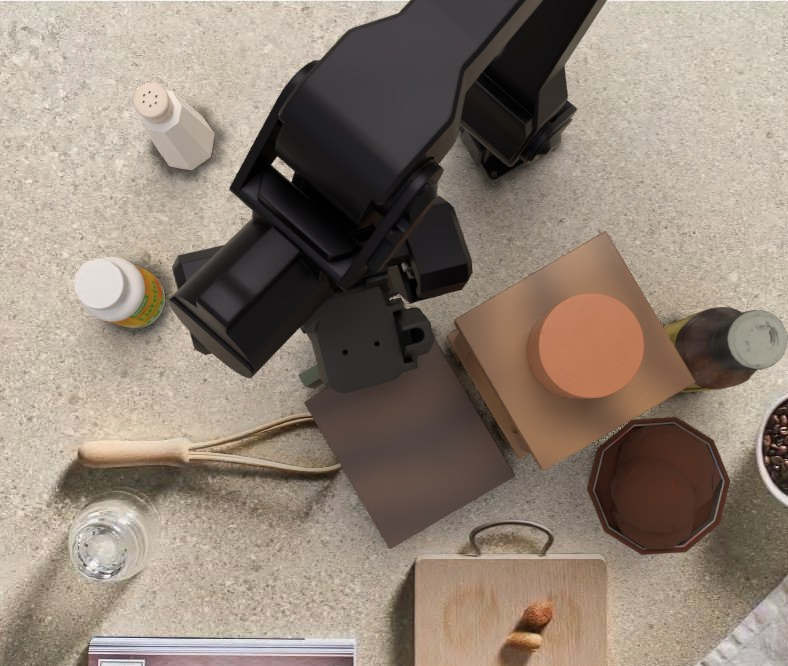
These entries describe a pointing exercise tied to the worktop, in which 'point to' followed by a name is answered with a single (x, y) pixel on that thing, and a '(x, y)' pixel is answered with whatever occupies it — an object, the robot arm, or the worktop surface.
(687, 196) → the worktop surface
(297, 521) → the worktop surface
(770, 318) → the sauce bottle
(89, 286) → the supplement bottle
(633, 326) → the tin
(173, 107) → the salt shaker
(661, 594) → the worktop surface
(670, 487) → the brown polygonal jar
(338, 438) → the cabinet
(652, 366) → the square box with cylinder
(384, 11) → the worktop surface
